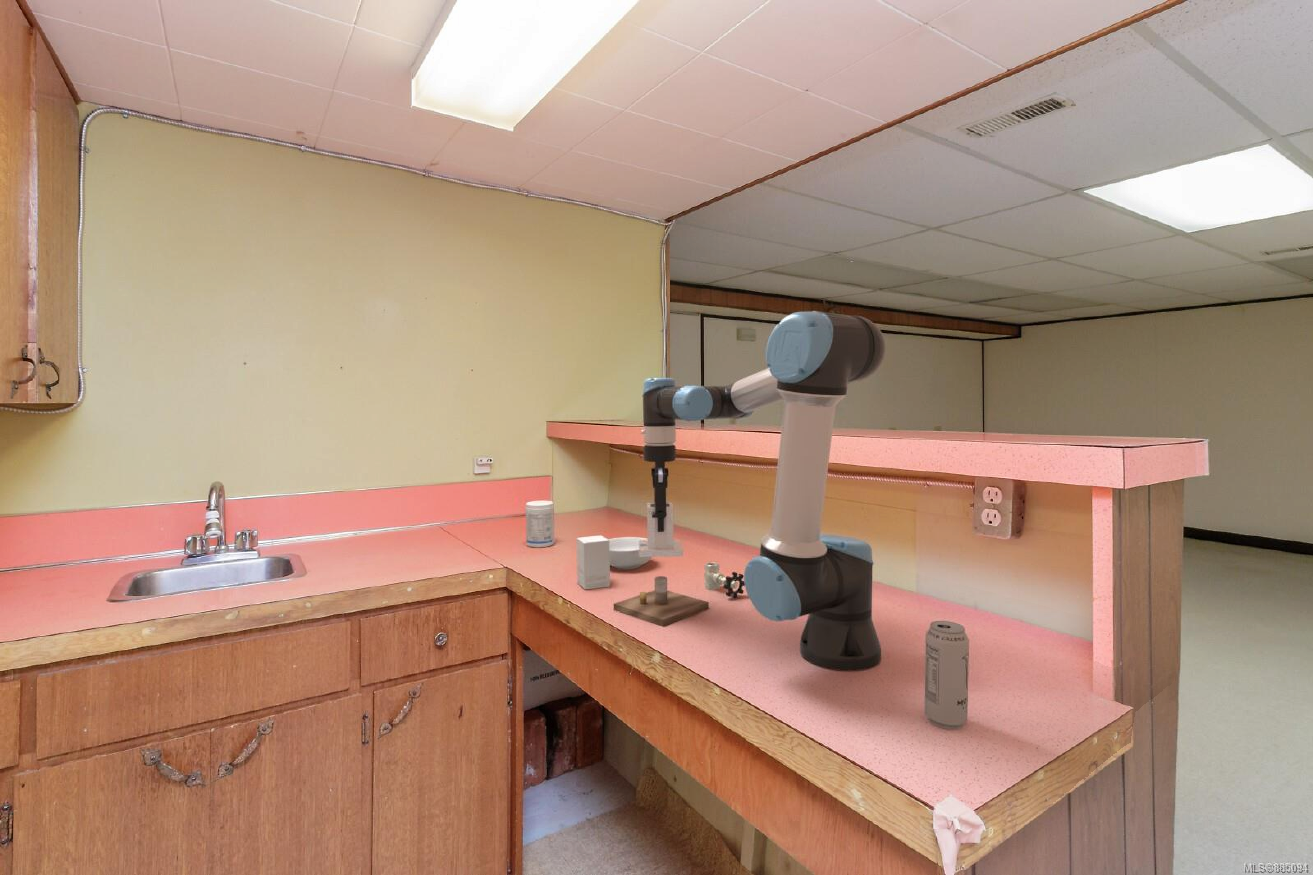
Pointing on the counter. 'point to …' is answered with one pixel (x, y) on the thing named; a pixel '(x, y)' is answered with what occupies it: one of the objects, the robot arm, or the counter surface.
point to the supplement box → (593, 562)
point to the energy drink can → (946, 674)
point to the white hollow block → (648, 546)
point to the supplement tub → (540, 523)
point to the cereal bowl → (626, 553)
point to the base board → (661, 605)
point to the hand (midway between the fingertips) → (660, 541)
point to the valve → (722, 580)
